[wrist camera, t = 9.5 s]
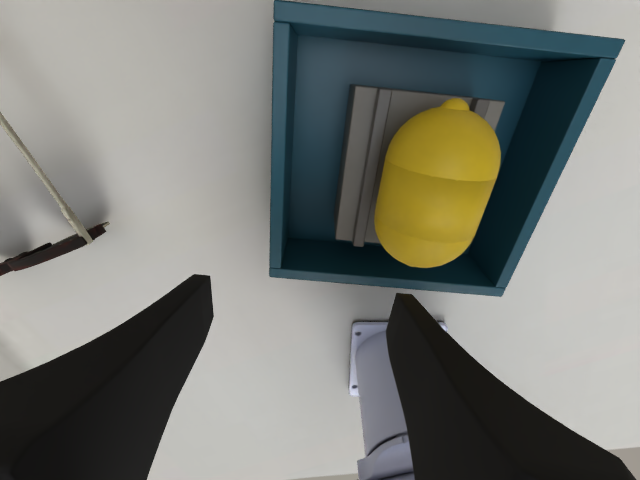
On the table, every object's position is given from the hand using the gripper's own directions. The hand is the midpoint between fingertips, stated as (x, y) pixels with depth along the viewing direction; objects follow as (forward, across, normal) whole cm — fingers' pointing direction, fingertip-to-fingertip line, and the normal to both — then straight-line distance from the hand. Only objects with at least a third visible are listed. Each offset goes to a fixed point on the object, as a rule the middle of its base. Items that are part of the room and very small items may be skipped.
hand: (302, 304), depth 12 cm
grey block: (+10, -5, -4) cm, 12 cm away
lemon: (+6, -5, -4) cm, 9 cm away
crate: (+10, -5, -4) cm, 12 cm away
